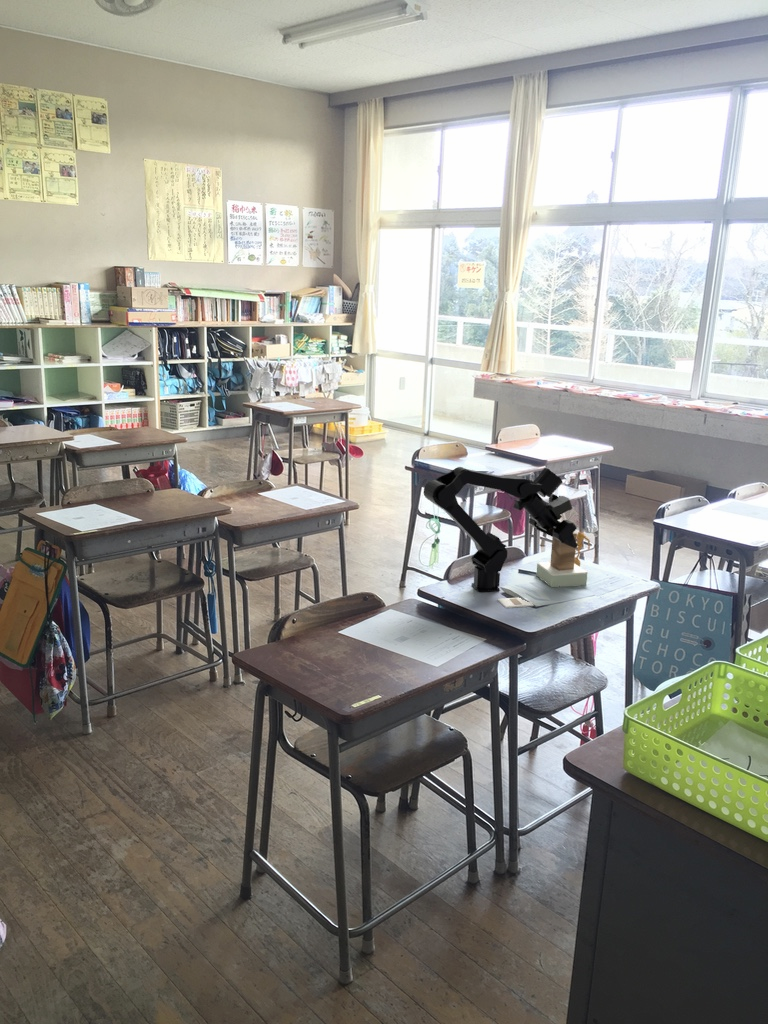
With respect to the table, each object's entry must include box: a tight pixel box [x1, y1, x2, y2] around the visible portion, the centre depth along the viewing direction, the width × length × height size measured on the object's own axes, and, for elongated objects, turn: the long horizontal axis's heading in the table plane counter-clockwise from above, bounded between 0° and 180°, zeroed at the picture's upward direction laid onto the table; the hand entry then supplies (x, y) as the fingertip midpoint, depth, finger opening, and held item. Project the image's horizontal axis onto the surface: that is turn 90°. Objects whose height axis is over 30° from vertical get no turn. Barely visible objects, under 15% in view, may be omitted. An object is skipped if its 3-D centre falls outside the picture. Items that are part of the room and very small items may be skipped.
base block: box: [535, 561, 588, 588], centre depth 243 cm, size 11×11×4 cm
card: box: [497, 597, 534, 609], centre depth 223 cm, size 8×6×1 cm
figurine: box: [574, 531, 591, 567], centre depth 252 cm, size 8×6×12 cm
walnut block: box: [550, 531, 578, 571], centre depth 241 cm, size 5×5×11 cm
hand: (568, 542), depth 241 cm, fingers open, 9 cm apart
